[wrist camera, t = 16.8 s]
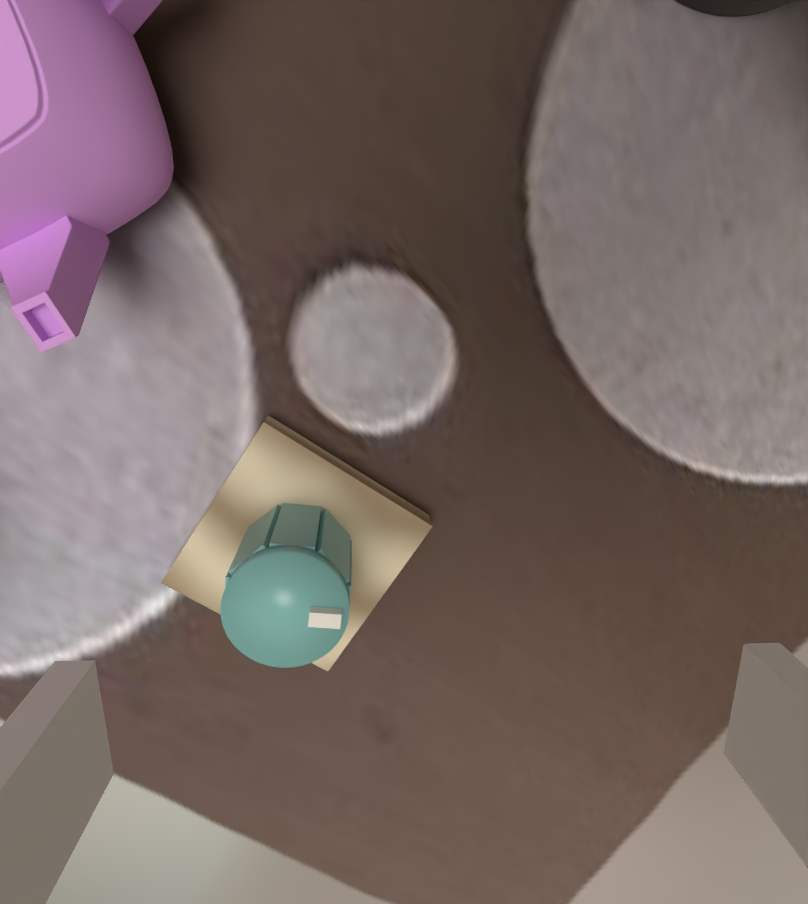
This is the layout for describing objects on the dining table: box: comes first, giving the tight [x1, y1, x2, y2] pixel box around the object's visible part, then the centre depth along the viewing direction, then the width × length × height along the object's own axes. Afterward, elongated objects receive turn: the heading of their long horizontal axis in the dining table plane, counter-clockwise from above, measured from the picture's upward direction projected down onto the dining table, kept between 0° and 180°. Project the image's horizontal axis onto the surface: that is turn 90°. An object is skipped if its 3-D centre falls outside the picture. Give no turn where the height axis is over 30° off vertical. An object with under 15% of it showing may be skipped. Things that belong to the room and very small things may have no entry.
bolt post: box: [161, 415, 433, 671], centre depth 35 cm, size 12×12×8 cm
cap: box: [220, 503, 352, 667], centre depth 33 cm, size 6×6×8 cm
